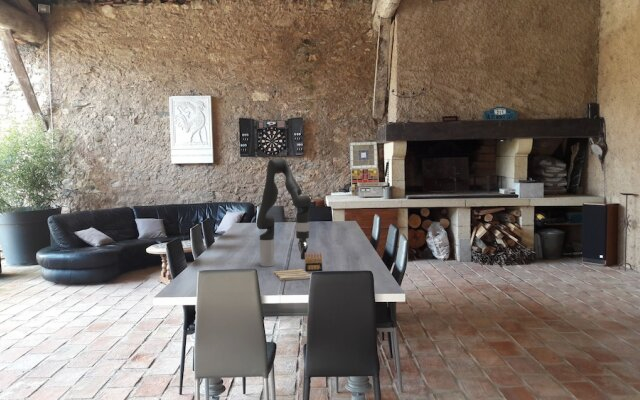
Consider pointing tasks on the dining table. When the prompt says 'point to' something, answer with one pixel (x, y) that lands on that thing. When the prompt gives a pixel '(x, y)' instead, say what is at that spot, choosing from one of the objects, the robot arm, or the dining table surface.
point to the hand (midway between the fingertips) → (302, 259)
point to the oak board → (288, 272)
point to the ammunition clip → (312, 265)
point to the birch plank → (294, 276)
